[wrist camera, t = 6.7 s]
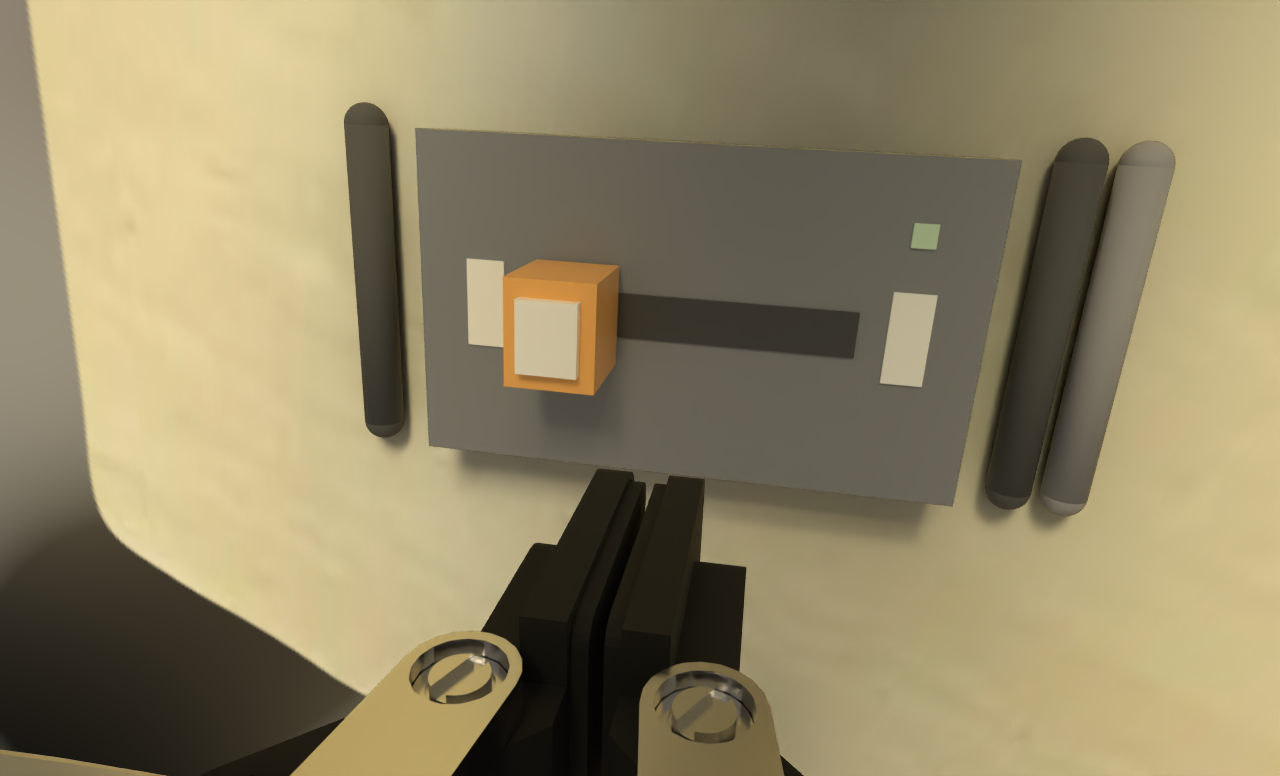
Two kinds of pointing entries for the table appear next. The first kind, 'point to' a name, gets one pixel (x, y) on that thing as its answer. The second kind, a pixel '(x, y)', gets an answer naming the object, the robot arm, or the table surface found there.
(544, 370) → the block
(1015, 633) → the table surface
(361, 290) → the dark grey rounded rod
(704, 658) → the robot arm
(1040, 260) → the grey capsule
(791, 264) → the slider switch box
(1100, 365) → the light grey rod
